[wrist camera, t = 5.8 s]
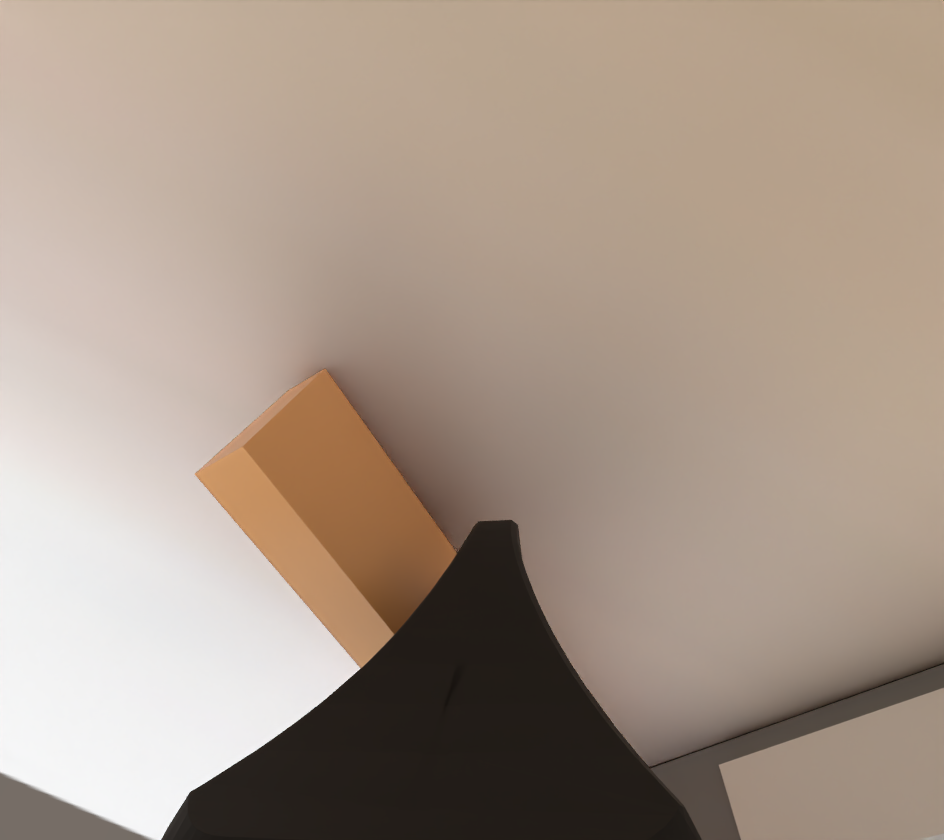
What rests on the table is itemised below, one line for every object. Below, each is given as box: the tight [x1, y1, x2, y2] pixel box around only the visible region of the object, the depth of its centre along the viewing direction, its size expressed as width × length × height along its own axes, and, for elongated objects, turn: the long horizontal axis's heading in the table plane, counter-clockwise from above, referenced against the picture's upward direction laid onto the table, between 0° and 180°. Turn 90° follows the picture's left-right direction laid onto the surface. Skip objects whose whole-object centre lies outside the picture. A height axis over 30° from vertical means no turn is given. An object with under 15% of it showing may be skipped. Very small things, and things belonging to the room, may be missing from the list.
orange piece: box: [195, 369, 457, 668], centre depth 12 cm, size 2×14×4 cm, turn 32°
